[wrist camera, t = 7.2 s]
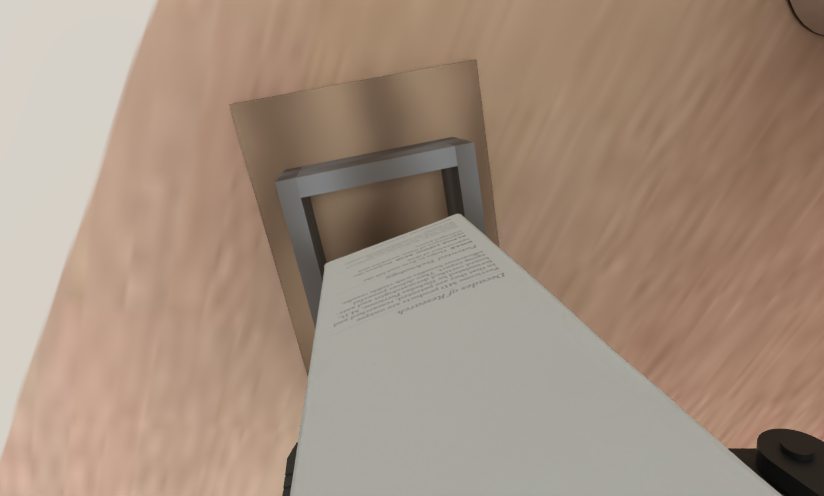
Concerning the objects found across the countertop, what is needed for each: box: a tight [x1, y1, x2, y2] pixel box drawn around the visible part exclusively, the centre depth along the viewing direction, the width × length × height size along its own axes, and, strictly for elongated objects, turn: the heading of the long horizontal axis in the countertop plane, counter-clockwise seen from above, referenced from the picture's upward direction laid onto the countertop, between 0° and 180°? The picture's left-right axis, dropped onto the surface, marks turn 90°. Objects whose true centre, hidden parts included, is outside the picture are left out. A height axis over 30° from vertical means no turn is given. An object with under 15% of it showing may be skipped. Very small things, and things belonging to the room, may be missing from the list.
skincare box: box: [290, 214, 782, 496], centre depth 12 cm, size 8×6×15 cm
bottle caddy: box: [229, 60, 499, 375], centre depth 27 cm, size 14×20×6 cm
